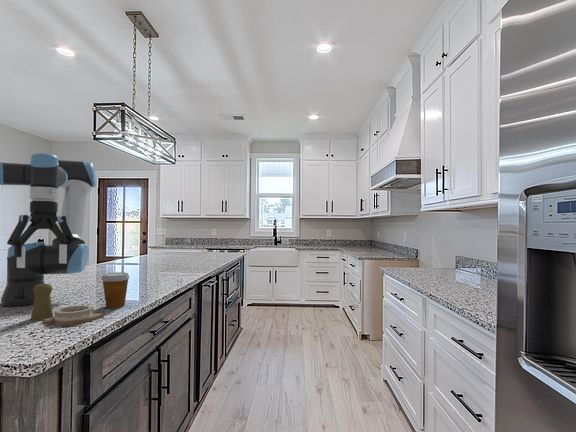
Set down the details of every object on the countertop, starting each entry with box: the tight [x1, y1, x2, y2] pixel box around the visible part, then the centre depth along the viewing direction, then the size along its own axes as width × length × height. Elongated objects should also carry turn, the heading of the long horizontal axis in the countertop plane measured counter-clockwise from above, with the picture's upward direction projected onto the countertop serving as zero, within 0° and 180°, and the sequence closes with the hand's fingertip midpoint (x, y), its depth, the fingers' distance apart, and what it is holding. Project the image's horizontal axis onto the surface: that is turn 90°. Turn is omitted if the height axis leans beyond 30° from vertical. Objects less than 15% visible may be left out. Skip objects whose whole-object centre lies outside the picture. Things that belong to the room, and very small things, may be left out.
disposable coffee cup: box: [101, 271, 130, 309], centre depth 131 cm, size 10×10×12 cm
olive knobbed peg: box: [30, 283, 54, 321], centre depth 115 cm, size 6×6×11 cm
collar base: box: [41, 304, 105, 328], centre depth 112 cm, size 12×12×4 cm
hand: (42, 265), depth 115 cm, fingers open, 13 cm apart
